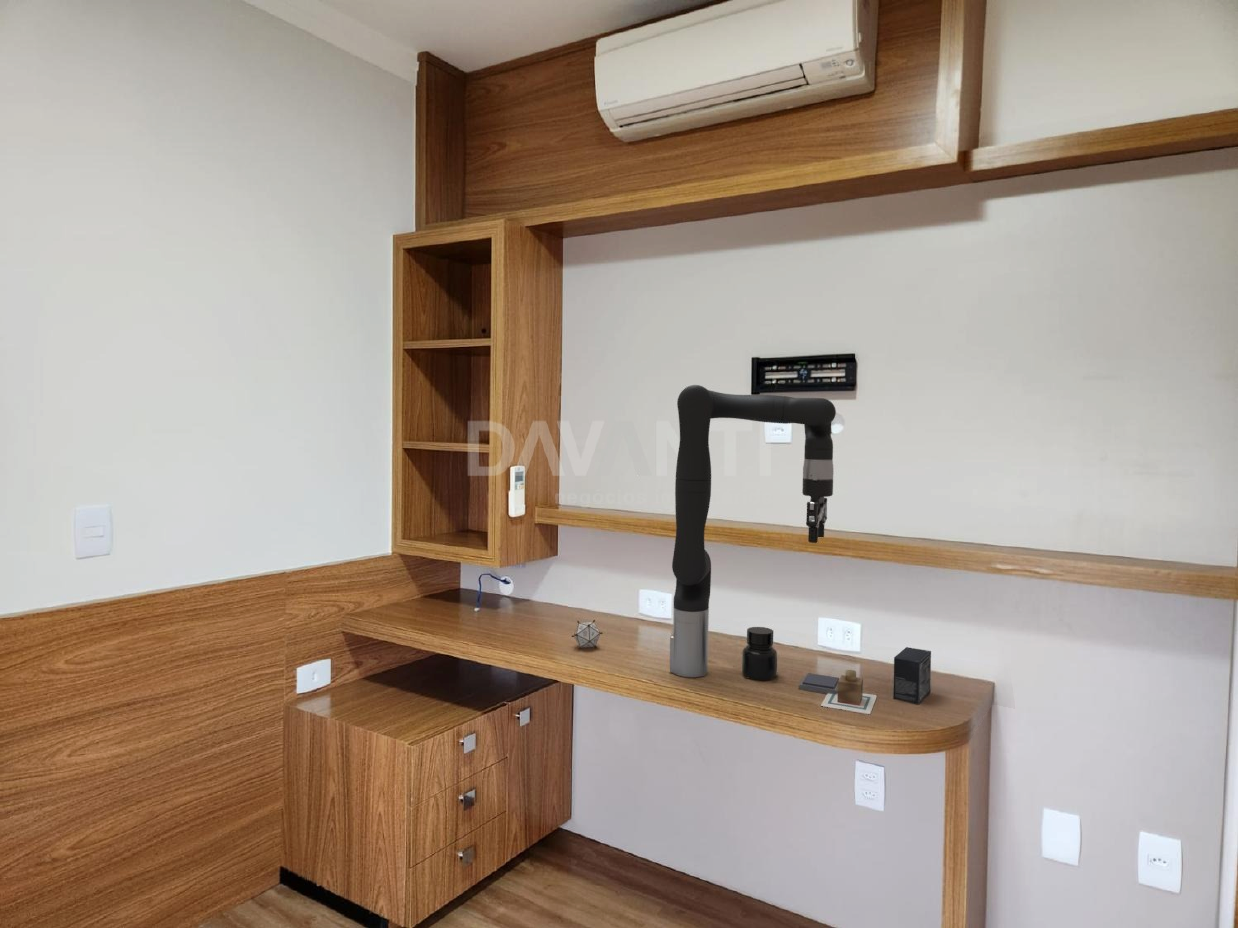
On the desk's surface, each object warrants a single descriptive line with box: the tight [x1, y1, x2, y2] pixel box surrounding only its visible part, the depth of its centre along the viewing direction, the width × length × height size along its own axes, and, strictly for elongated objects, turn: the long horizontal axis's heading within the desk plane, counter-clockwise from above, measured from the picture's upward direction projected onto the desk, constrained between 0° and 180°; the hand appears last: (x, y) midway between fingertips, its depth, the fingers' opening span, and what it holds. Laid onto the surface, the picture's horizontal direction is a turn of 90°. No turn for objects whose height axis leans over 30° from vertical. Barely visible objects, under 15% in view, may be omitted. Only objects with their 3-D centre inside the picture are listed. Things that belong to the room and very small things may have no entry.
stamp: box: [837, 669, 864, 706], centre depth 178 cm, size 5×5×7 cm
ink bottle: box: [741, 626, 778, 681], centre depth 196 cm, size 10×9×12 cm
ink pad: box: [798, 672, 840, 695], centre depth 188 cm, size 9×9×2 cm
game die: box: [571, 619, 604, 651], centre depth 218 cm, size 9×8×10 cm
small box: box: [892, 646, 932, 705], centre depth 183 cm, size 11×6×10 cm, turn 144°
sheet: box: [820, 692, 878, 716], centre depth 179 cm, size 11×13×1 cm
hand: (816, 540), depth 192 cm, fingers open, 8 cm apart
